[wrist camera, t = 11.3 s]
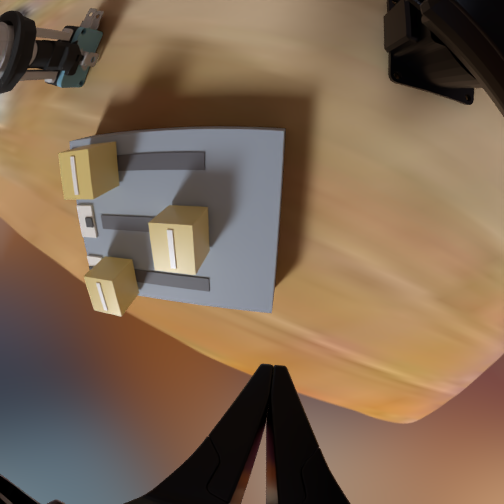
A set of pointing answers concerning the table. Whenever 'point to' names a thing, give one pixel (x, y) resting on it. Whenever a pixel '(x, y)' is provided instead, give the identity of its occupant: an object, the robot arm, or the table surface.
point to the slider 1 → (89, 170)
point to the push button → (47, 51)
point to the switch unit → (194, 194)
